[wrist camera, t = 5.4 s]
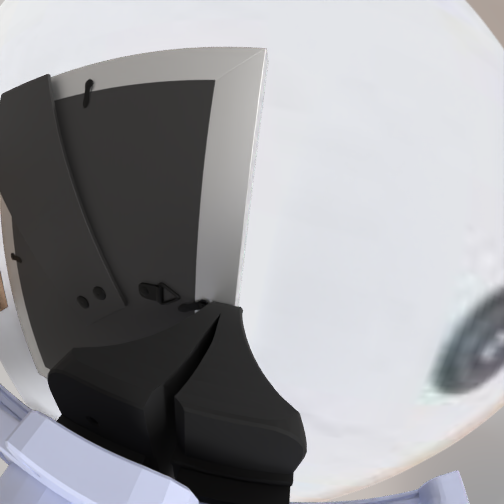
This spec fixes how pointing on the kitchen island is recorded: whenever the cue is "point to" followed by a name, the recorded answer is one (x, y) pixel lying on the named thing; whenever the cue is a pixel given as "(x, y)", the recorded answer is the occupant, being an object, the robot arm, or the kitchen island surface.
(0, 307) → the walnut bookend
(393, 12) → the kitchen island surface
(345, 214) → the kitchen island surface
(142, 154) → the picture frame
